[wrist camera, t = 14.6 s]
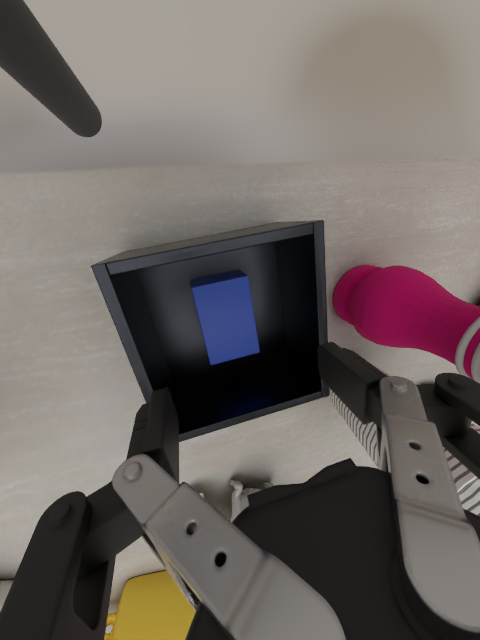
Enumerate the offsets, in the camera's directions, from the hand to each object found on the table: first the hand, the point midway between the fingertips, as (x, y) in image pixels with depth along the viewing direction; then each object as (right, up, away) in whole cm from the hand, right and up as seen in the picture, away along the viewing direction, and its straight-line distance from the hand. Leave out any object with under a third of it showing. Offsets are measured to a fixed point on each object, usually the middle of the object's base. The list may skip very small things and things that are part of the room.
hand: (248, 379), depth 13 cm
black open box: (-2, +4, +11) cm, 12 cm away
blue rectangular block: (-2, +4, +10) cm, 11 cm away
